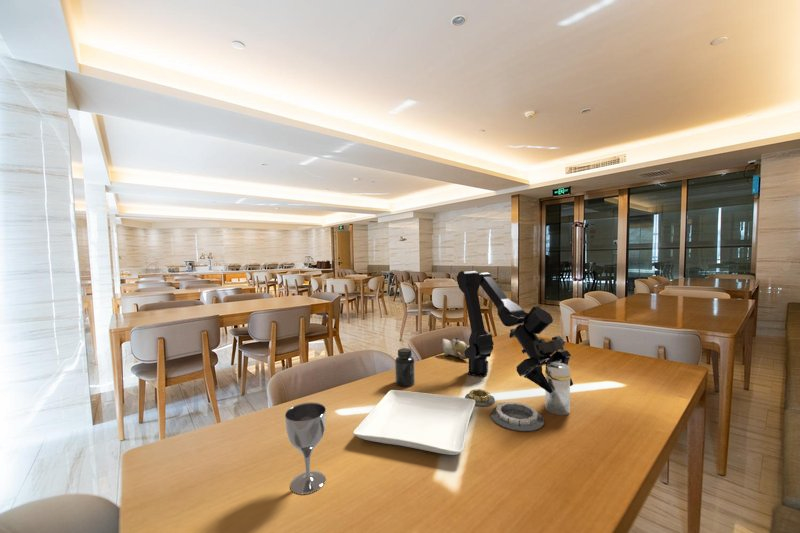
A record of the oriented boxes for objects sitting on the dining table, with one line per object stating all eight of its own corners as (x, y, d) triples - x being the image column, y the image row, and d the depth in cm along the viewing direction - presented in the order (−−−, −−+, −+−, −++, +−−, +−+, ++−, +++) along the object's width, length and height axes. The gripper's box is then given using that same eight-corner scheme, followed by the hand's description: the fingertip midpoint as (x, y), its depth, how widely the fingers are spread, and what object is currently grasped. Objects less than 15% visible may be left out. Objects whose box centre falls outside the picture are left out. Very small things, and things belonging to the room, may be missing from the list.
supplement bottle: (410, 378, 123) (410, 346, 123) (417, 385, 117) (417, 351, 116) (393, 381, 121) (392, 348, 120) (399, 388, 115) (398, 354, 114)
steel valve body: (544, 412, 96) (544, 367, 95) (545, 402, 102) (545, 360, 101) (570, 417, 93) (570, 371, 92) (570, 406, 99) (570, 363, 98)
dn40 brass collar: (461, 402, 103) (461, 396, 103) (469, 391, 111) (469, 385, 111) (491, 408, 99) (491, 402, 99) (497, 396, 107) (497, 390, 107)
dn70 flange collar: (485, 424, 90) (485, 417, 90) (496, 402, 103) (495, 396, 103) (542, 436, 84) (542, 428, 84) (545, 412, 96) (545, 405, 96)
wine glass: (292, 470, 73) (290, 403, 72) (330, 468, 73) (328, 401, 72) (283, 498, 65) (280, 422, 64) (325, 494, 65) (322, 419, 65)
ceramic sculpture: (447, 332, 155) (478, 338, 147) (447, 350, 156) (477, 357, 148) (437, 337, 146) (469, 344, 138) (436, 357, 147) (468, 365, 139)
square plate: (476, 410, 99) (476, 397, 99) (462, 468, 73) (462, 451, 73) (390, 398, 108) (390, 387, 107) (351, 446, 82) (350, 431, 82)
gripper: (524, 332, 95) (559, 383, 86) (565, 323, 104) (601, 369, 95) (503, 352, 103) (533, 401, 94) (543, 342, 112) (574, 386, 103)
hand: (561, 388), depth 96 cm, fingers open, 9 cm apart
